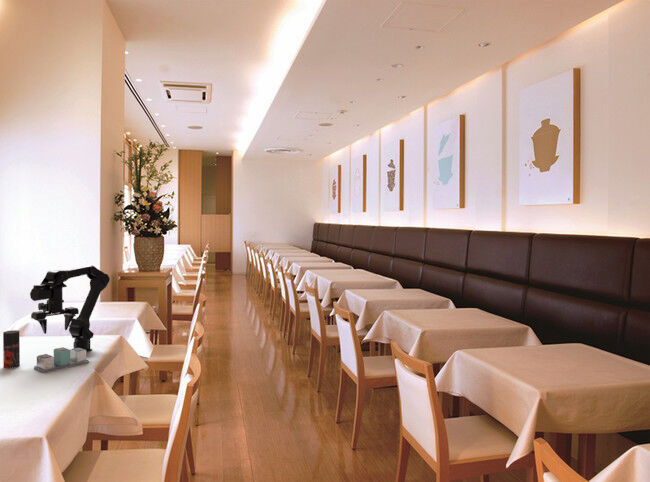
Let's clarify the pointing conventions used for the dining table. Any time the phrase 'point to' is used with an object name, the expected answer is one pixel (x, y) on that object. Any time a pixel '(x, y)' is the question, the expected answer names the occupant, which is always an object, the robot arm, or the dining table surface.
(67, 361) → the block
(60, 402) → the dining table surface
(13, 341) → the deodorant
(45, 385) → the dining table surface
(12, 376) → the dining table surface
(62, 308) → the robot arm
